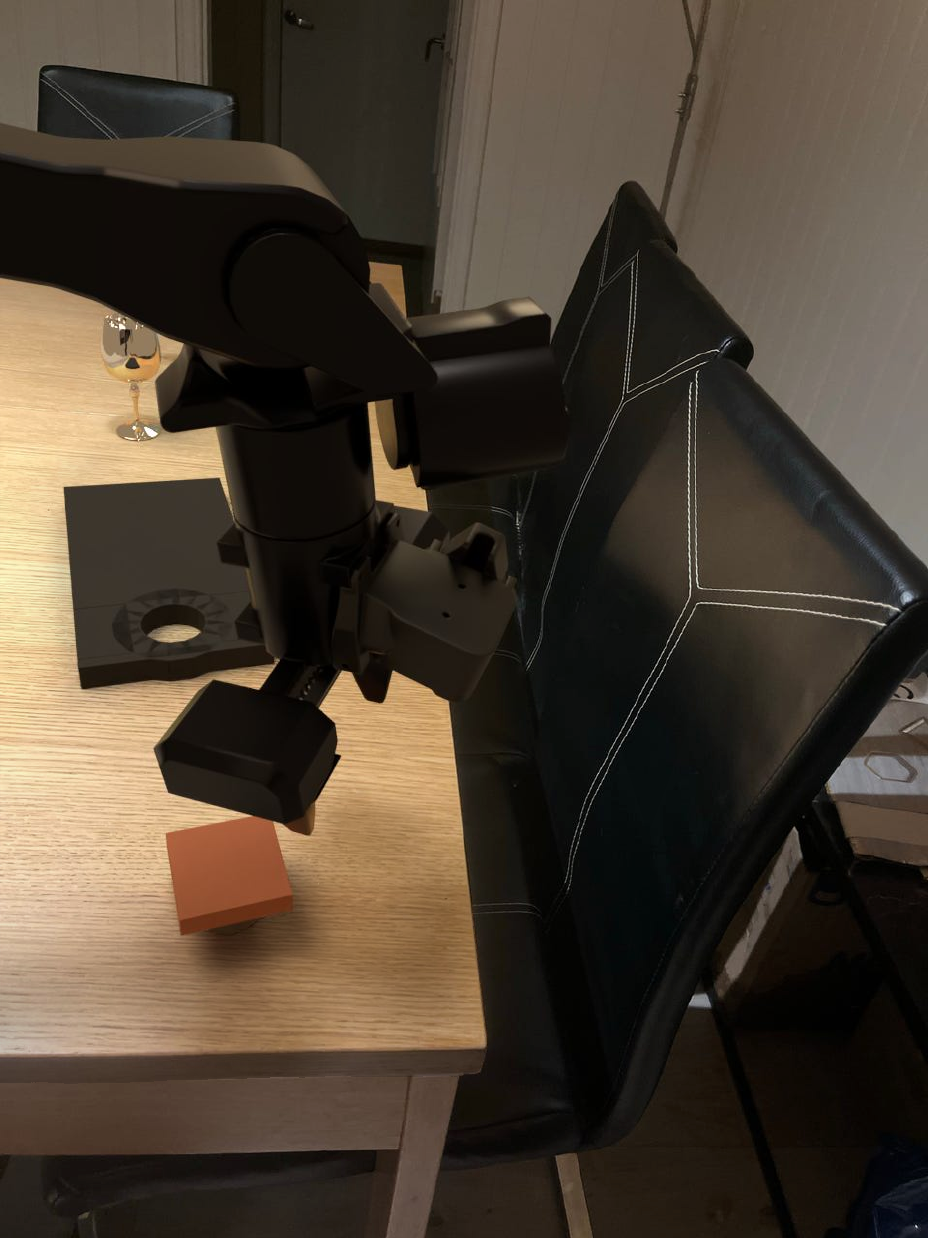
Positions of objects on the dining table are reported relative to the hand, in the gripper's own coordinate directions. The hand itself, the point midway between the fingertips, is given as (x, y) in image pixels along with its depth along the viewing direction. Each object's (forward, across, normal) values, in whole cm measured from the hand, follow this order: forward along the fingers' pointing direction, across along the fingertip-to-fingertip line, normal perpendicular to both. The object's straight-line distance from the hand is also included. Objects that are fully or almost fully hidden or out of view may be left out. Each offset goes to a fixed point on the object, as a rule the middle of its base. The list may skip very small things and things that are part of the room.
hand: (341, 761), depth 46 cm
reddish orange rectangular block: (+12, -3, +7) cm, 14 cm away
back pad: (+11, +23, +28) cm, 38 cm away
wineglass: (+11, +45, +45) cm, 65 cm away
